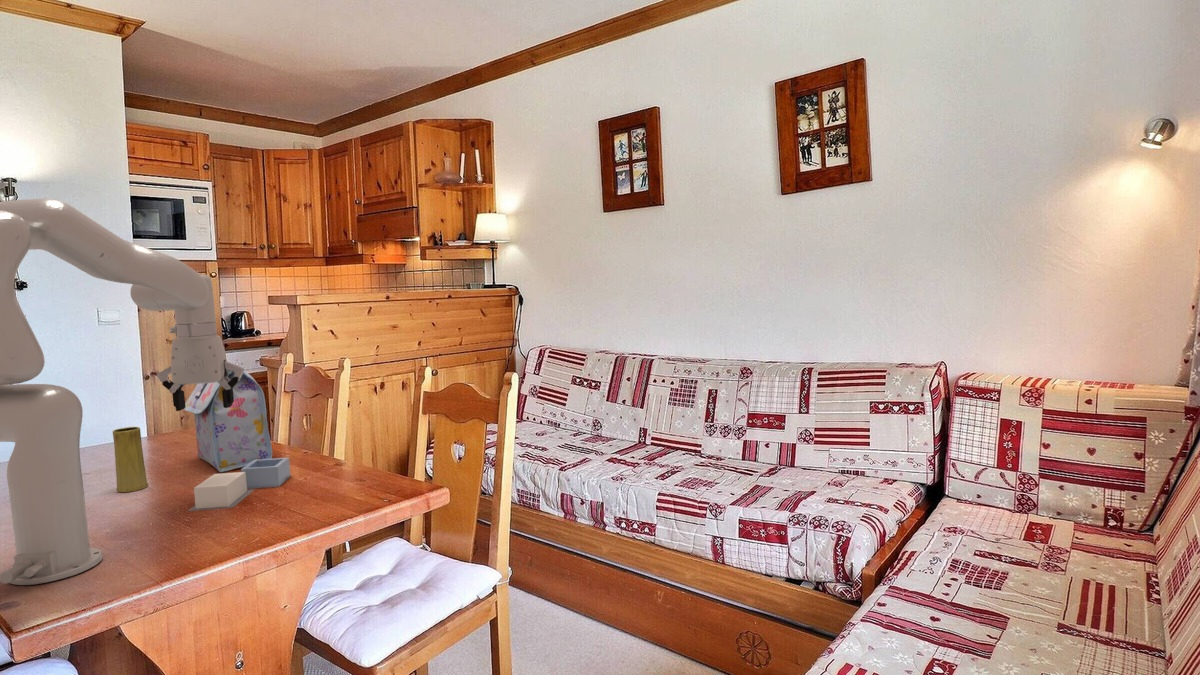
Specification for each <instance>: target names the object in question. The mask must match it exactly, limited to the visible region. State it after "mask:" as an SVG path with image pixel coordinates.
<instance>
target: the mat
mask: <svg viewBox="0 0 1200 675" xmlns="http://www.w3.org/2000/svg"><path fill="white" fill-rule="evenodd" d="M255 490H256V488H253V489H247V492H246V493H244V494H243V495H242V496H241V497H239V498H238V499H237V500H236V501H235V502H233V503H232V504H231V505H230V506H227V507H213V508H200V509H196V506H195V505H193V506H191V507H190V508H189V509H188V510H187V512H193V511H207V510H221V509H233V508H234V507H236V506H237V505H239V503H241V502H242V501H243V500H244V499H245V498H247V497H248V496H249V495H250V494H252V492H254V491H255Z"/></svg>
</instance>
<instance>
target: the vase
mask: <svg viewBox="0 0 1200 675" xmlns="http://www.w3.org/2000/svg"><path fill="white" fill-rule="evenodd" d="M141 433H142V432H141V428H140V427H139V426H126V427H121V428H116V429H113V430H112V438H113V445H114V459H115V460H114V461H115V462H114V463H115V475H116V476H115V477H116V490H115V491H116V492H117V493H121V494H122V493H132V492H137V491H141V490H143V489H146V488H147V487H148V486H149V483H148V478H147V471H146V465H145V461H144V460H145V459H144V453H143V443H142V434H141Z"/></svg>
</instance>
